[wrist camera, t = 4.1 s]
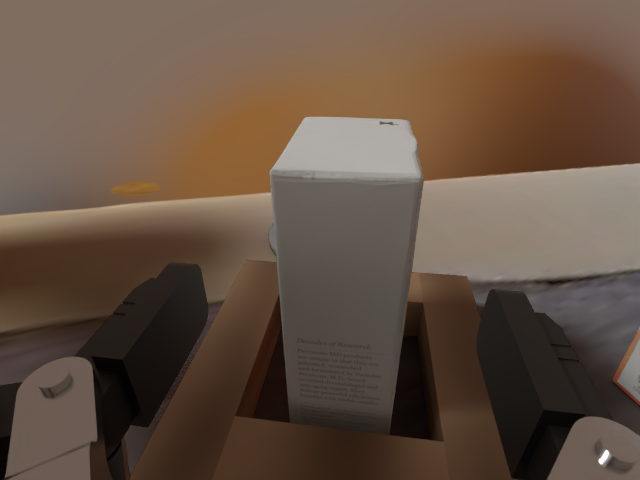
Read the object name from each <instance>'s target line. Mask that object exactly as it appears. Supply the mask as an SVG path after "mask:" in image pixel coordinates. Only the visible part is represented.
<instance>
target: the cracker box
mask: <svg viewBox="0 0 640 480" xmlns="http://www.w3.org/2000/svg"><path fill="white" fill-rule="evenodd" d="M612 380H613V382H614V383H615V384H616V385H617V386H618V387H619V388H620V389H621V390H622V391H624V392H625V393H626V394H627V395H628V396H629V397H630V398H632V399H633V400H634V401H635V402H636V403H637V404H638V405H639V406H640V328H639V330H638V332H637V334H636V336H635V338H634V340H633V341H632V343H631V345H630V346H629V348H628V350H627V352H626V354H625V356H624V358H623V360H622V361H621V363H620V365H619V367H618V369H617V371H616V373H615V374H614V377H613V379H612Z"/></svg>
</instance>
